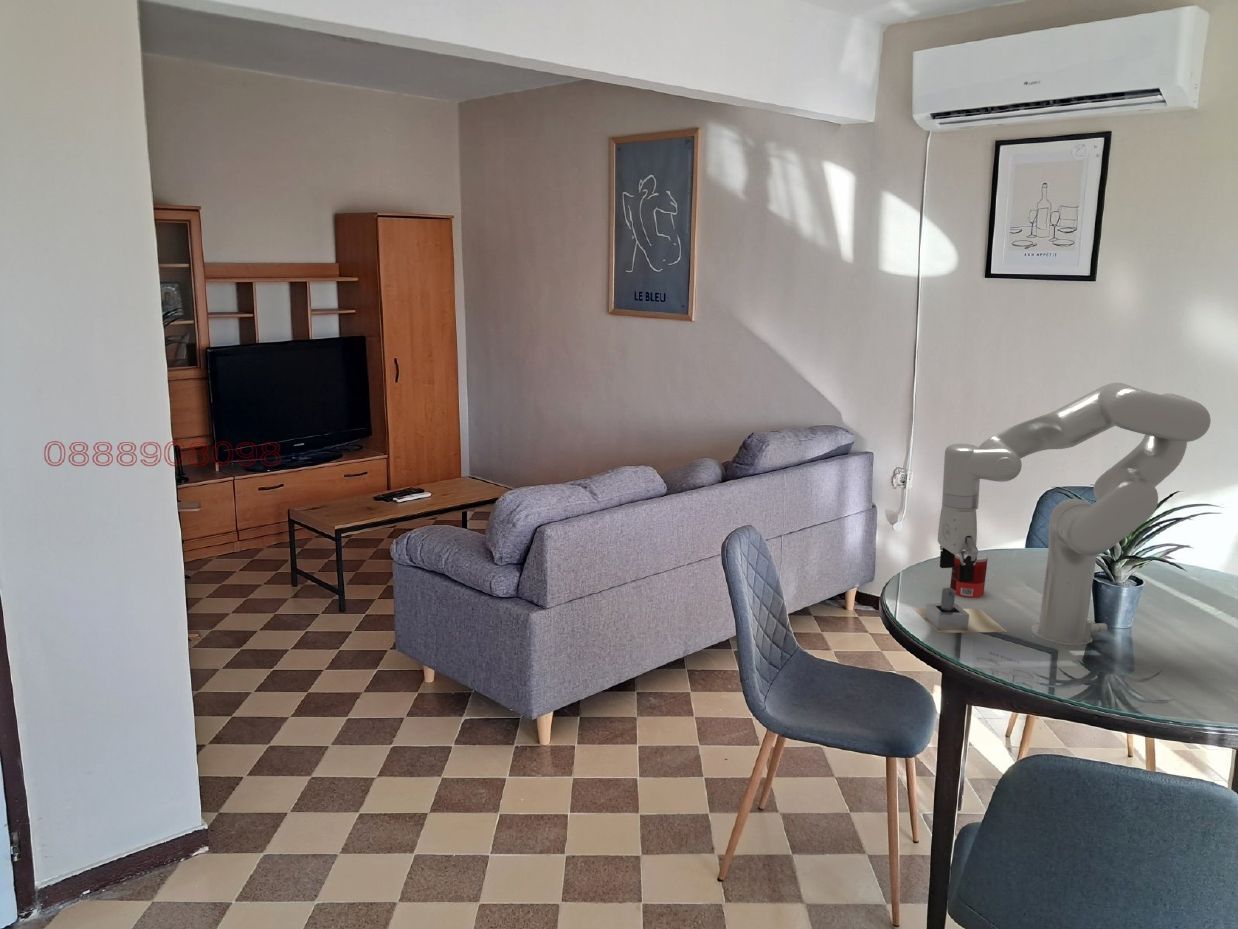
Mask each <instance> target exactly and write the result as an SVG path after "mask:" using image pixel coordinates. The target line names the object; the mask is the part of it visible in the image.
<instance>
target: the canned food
mask: <svg viewBox="0 0 1238 929" xmlns="http://www.w3.org/2000/svg"><path fill="white" fill-rule="evenodd" d="M962 551H966V550H962ZM967 556H969V555H964V558H966V557H967ZM988 557H989V556H988V555H987V554H985V553H983V552H980V551H978V555H977V560H976V561H975V562H976V564H975V565H974V580H973V582H959V581H958V577H959V564H961V561H960V557H959V553H958V554H956V555H955V561H954V567H953V568H951V574H950V576H951V577H950V584H949V585H950V586H949V588H950V589H954V590H955V591H956V592H955V596H958V597H962V598H969V599H973V598H974V599H977V598H982V597H983V596H984V593H985V584H986V577H987V569H988V561H989V560H988Z"/></svg>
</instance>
